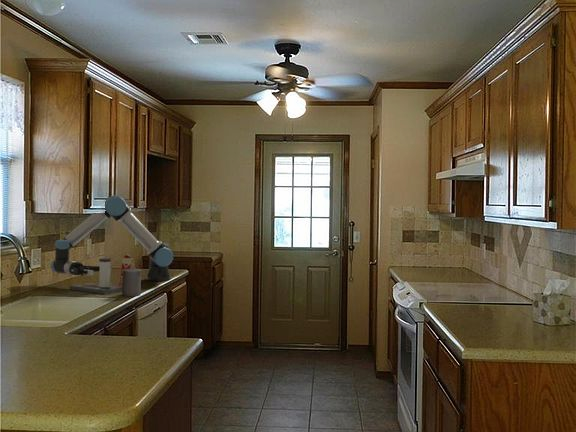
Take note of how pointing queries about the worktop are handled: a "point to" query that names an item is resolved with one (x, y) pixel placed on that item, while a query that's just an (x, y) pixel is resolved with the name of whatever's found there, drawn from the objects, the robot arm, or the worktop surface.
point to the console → (95, 288)
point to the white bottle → (104, 272)
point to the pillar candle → (131, 282)
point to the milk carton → (126, 267)
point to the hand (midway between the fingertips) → (102, 271)
